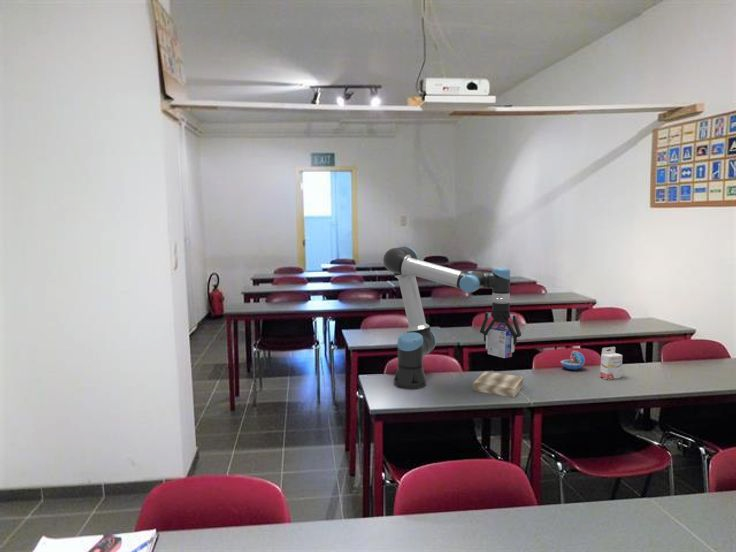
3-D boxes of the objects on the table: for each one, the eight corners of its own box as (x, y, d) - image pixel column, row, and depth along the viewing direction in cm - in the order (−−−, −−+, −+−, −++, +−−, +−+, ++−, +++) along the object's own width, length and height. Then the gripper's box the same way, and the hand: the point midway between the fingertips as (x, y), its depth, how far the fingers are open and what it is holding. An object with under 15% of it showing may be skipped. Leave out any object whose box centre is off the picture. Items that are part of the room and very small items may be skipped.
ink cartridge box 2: (607, 380, 233) (609, 350, 232) (599, 377, 238) (601, 347, 236) (621, 378, 236) (623, 348, 234) (613, 375, 241) (615, 346, 239)
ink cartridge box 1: (512, 356, 219) (513, 325, 218) (505, 358, 216) (506, 326, 214) (494, 352, 227) (495, 321, 226) (487, 354, 224) (487, 323, 222)
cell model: (556, 366, 255) (557, 349, 254) (578, 366, 256) (578, 348, 255) (566, 372, 245) (566, 354, 244) (588, 371, 247) (589, 353, 246)
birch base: (473, 390, 220) (473, 382, 220) (484, 379, 236) (484, 371, 235) (514, 397, 211) (514, 388, 211) (523, 385, 227) (523, 377, 227)
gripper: (473, 301, 221) (472, 349, 224) (525, 305, 210) (524, 355, 213) (477, 299, 228) (477, 345, 230) (529, 302, 217) (527, 351, 219)
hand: (499, 350), depth 221 cm, fingers closed on ink cartridge box 1, 11 cm apart
